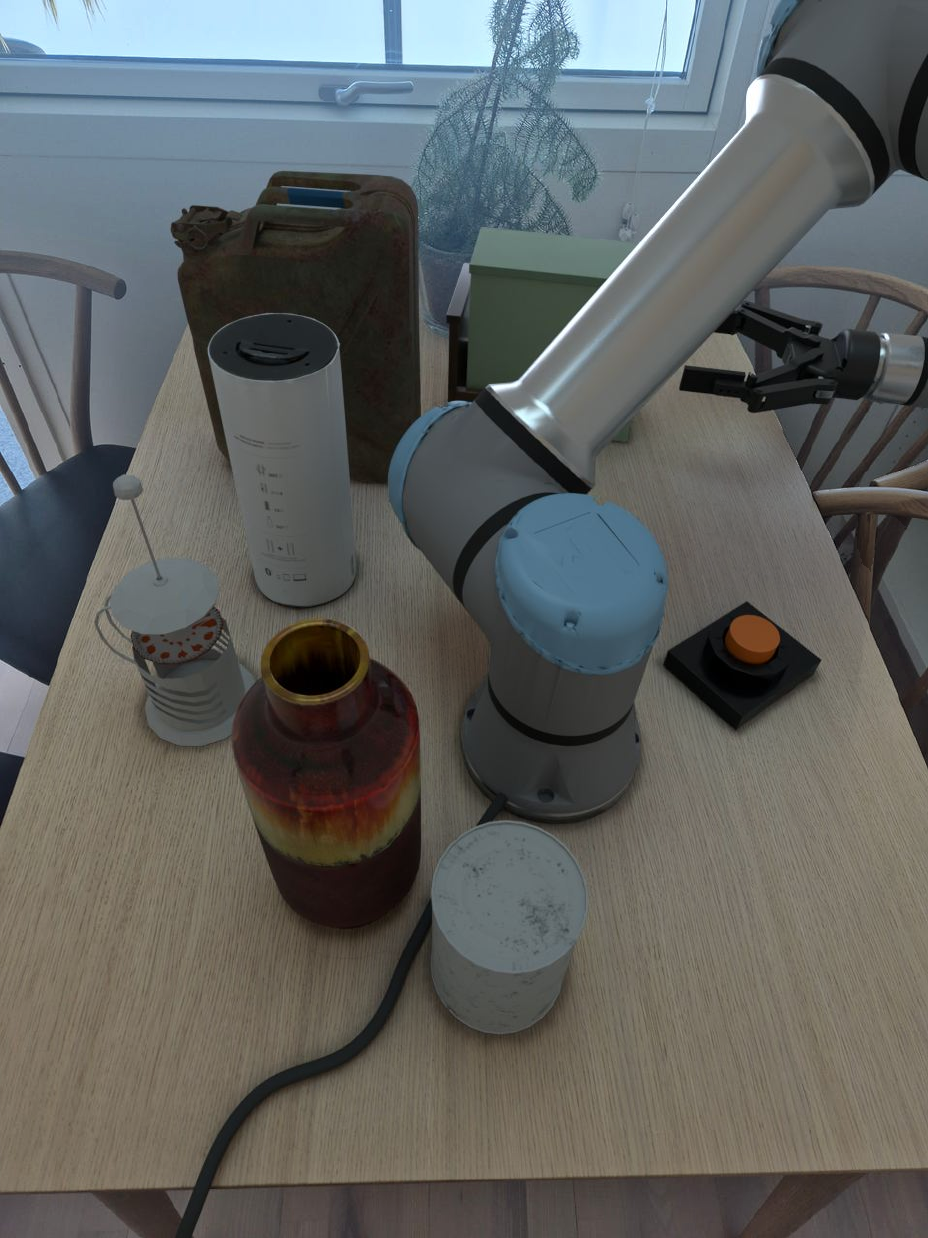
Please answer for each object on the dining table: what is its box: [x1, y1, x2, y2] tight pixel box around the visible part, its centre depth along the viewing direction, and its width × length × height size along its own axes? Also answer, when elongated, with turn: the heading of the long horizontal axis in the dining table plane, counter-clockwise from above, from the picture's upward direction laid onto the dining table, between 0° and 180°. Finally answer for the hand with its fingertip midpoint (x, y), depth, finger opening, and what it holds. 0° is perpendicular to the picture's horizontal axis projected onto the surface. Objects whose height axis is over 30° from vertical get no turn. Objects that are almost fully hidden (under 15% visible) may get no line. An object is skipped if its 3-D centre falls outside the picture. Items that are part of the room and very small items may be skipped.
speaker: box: [208, 313, 357, 608], centre depth 74 cm, size 11×10×26 cm
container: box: [170, 170, 422, 484], centre depth 86 cm, size 23×10×30 cm, turn 85°
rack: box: [445, 262, 484, 403], centre depth 99 cm, size 14×13×15 cm
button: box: [725, 615, 780, 664], centre depth 74 cm, size 4×4×2 cm
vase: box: [230, 618, 422, 930], centre depth 53 cm, size 11×11×26 cm
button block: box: [662, 600, 823, 731], centre depth 76 cm, size 11×9×4 cm
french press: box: [94, 473, 256, 747], centre depth 64 cm, size 10×12×25 cm
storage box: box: [466, 226, 640, 443], centre depth 97 cm, size 20×9×20 cm, turn 81°
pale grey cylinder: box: [430, 819, 589, 1036], centre depth 54 cm, size 10×10×12 cm
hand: (680, 345), depth 95 cm, fingers open, 13 cm apart
